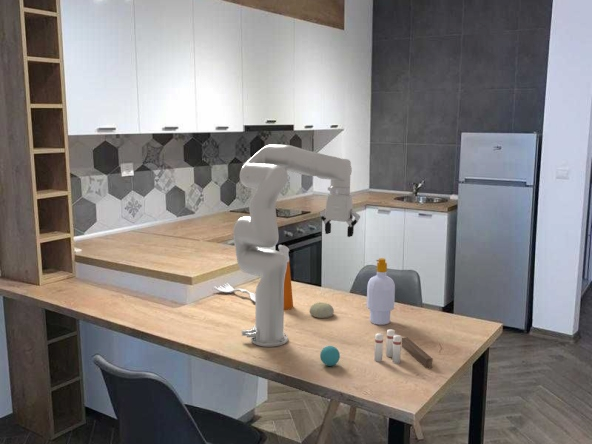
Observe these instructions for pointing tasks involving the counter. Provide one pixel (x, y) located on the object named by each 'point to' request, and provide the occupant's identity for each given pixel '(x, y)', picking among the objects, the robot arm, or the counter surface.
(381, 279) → the soap bottle
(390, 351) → the pin
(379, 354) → the front pin
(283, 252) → the spray bottle
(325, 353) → the ball
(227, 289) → the white fork
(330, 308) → the sea urchin shell
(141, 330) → the counter surface
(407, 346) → the back wall
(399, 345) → the pin
